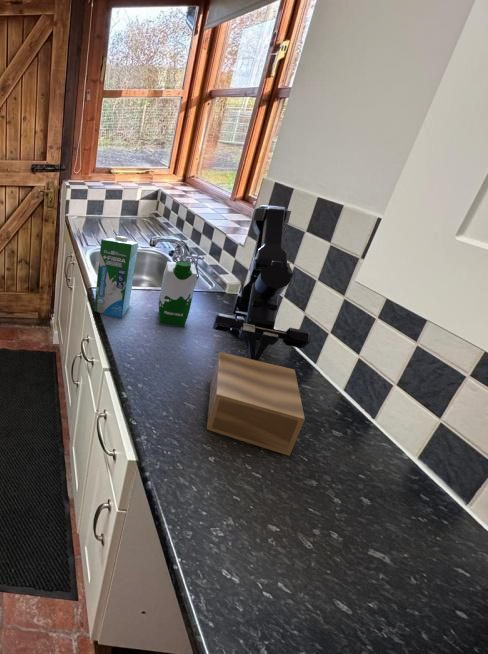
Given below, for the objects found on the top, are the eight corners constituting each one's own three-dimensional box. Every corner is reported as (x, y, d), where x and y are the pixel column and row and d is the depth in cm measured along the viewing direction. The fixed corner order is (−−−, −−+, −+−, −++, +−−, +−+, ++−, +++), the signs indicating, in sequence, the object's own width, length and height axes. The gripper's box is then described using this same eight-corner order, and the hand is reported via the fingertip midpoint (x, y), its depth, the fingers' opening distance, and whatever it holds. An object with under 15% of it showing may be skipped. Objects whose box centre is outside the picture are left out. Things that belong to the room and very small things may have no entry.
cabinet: (210, 384, 99) (219, 351, 95) (282, 403, 92) (294, 369, 88) (206, 429, 86) (216, 394, 82) (289, 456, 79) (305, 419, 75)
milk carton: (129, 306, 134) (139, 235, 124) (121, 318, 128) (131, 244, 117) (102, 300, 139) (110, 230, 128) (93, 311, 132) (101, 239, 121)
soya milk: (156, 324, 124) (167, 264, 115) (155, 310, 131) (165, 253, 123) (187, 329, 121) (201, 268, 113) (185, 315, 129) (197, 256, 120)
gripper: (299, 321, 100) (291, 382, 96) (215, 305, 109) (204, 360, 105) (315, 307, 91) (306, 374, 87) (221, 290, 99) (209, 351, 95)
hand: (253, 365), depth 94 cm, fingers closed, pressing on drawer
